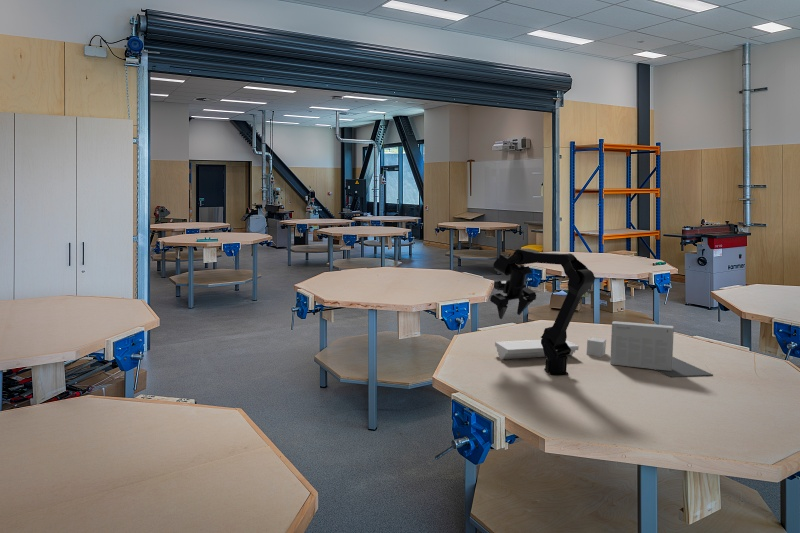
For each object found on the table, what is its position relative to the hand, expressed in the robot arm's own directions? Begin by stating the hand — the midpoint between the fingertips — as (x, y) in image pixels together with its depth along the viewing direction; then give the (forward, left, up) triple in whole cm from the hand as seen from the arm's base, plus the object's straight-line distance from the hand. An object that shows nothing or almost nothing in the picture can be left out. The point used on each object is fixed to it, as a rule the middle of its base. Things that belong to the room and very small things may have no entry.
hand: (509, 316), depth 219 cm
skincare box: (-45, +19, -16) cm, 51 cm away
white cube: (-37, +1, -16) cm, 40 cm away
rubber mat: (-57, +19, -16) cm, 62 cm away
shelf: (-11, +2, -16) cm, 20 cm away
